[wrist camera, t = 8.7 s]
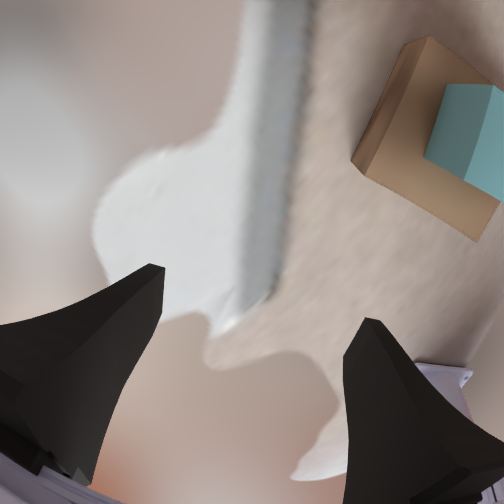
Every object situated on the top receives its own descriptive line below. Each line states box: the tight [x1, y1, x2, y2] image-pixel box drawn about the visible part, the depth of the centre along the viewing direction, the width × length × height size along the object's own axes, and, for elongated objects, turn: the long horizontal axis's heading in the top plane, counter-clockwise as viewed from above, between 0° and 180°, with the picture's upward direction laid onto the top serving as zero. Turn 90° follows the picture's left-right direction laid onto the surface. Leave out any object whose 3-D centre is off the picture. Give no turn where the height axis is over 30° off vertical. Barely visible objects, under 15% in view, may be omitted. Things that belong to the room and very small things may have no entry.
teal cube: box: [423, 84, 504, 203], centre depth 10 cm, size 4×4×4 cm
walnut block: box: [351, 35, 500, 243], centre depth 14 cm, size 8×8×4 cm
